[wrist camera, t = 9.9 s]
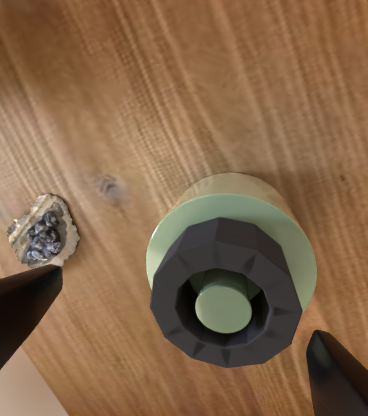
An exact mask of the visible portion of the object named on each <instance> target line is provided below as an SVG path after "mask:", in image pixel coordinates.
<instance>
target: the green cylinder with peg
mask: <svg viewBox="0 0 368 416" xmlns="http://www.w3.org/2000/svg"><path fill="white" fill-rule="evenodd" d="M217 217H223V218H228V219H233V220H238V221H243V222H248V223H253V224H255V225H257V226H258V227H259V228H260V229H261V230H263V231H264V232H265V233H266V234H267V235H269V236H270V237H271V238H272V239H273V240H275V241H276V242H277V243H278V244H280V245H281V247H282V250H283V253H284V256H285V259H286V262H287V265H288V268H289V271H290V274H291V277H292V280H293V283H294V286H295V289H296V292H297V295H298V298H299V301H300V304H301V307H302V310H303V312H304V311H305V309H306V308H307V306H308V305H309V303H310V301H311V298H312V296H313V294H314V290H315V286H316V280H317V263H316V259H315V254H314V251H313V248H312V246H311V243H310V241H309V240H308V238H307V236H306V234H305V233H304V231H303V229H302V228H301V226H300V224H299V223H298V221H297V219H296V217H295V216H294V214H293V212H292V211H291V209H290V207H289V206H288V204H287V202H286V201H285V199H284V198H283V197H282V196H281V194H280V193H279V192H278V191H277V190H276V189H275V188H273V187H272V186H270V185H269V184H268V183H266V182H264V181H262V180H261V179H258V178H256V177H253V176H250V175H246V174H241V173H220V174H215V175H211V176H208V177H206V178H203V179H201V180H199V181H198V182H196V183H194V184H193V185H192V186H190V187H189V188H188V189H187V190H186V191H185V192H184V193H183V194H182V195H181V196H180V198H179V199H178V200H177V201H176V203H175V204H174V205H173V207H172V208H171V209H170V210H169V212H168V213H167V214H166V215H165V217H164V218H163V219H162V221H161V222H160V223H159V225H158V226H157V227H156V229H155V231H154V233H153V235H152V237H151V239H150V242H149V245H148V249H147V255H146V269H147V276H148V280H149V284H150V286H151V289H152V284H153V276H154V274H155V272H156V270H157V268H158V267H159V265H160V263H161V261H162V259H163V258H164V256H165V254H166V252H167V251H168V249H169V247H170V246H171V245H172V244H173V243H174V242H175V240H176V239H177V238H178V237H179V236H180V235H181V234H182V233H183V231H184V230H185V229H186V228H187V227H188V226H191V225H194V224H198V223H201V222H204V221H207V220H211V219H214V218H217ZM189 281H190V283H191V285H192V288H193V290H194V291H195V292H196V293H197V294H198V296H197V299H196V303H195V310H196V314H197V316H198V318H199V320H200V321H201V322H202V323H203V324H204V325H205V326H206V327H208V328H209V329H211V330H213V331H216V332H220V333H233V332H237V331H239V330H241V329H243V328H244V327H245V326H246V325H247V324H248V323H249V321H250V319H251V315H252V306H251V301H250V300H251V299H252V298H253V297H254V296H255V295H257V294H258V293H259V292H260V290H261V287H259V286H258V285H257V284H256V283H254V282H253V281H252V280H251V279H250V278H248V277H247V276H246V275H245V274H243V273H239V272H235V271H230V270H226V269H221V268H214V269H210V270H206V271H202V272H198V273H194V274H193V275H192V276H191V277H190V278H189ZM303 312H302V313H303Z"/></svg>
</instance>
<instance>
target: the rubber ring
mask: <svg viewBox="0 0 368 416" xmlns="http://www.w3.org/2000/svg"><path fill="white" fill-rule="evenodd" d="M214 268H221V269H226V270H230V271H235V272H239V273H243V274H245V275H246V276H247V277H248V278H250V279H251V280H252V281H253V282H254V283H256V284H257V285H258V286H259V287H261V290H260V292H259V293H258V294H257V295H255V296H254V297H253V298H252V299H251V300H250V301H251V306H252V315H251V319H250V321H249V323H248V324H247V325H246V326H245V327H244V328H243V329H241V330H239V331H237V332H233V333H220V332H216V331H213V330H211V329H209V328H208V327H206V326H205V325H204V324H203V323H202V322H201V321H200V320H199V318H198V316H197V314H196V310H195V303H196V299H197V296H198V294H197V293H196V292H195V291H194V290H193V288H192V285H191V283H190V281H189V278H190V277H191V276H192V275H193V274H194V273H198V272H202V271H206V270H210V269H214ZM150 308H151V310H152V312H153V314H154V316H155V319H156V321H157V323H158V325H159V327H160V329H161V331H162V333H163V335H164V337H165V338H167V339H168V340H169V341H170V342H172V343H173V344H174V345H175V346H177V347H178V348H179V349H181V350H182V351H183V352H184V353H186V354H187V355H188V356H190V357H191V358H193V359H196V360H200V361H203V362H207V363H211V364H214V365H218V366H221V367H225V368H231V367H239V366H247V365H254V364H263V363H265V362H266V361H268V360H269V359H271V358H272V357H273V356H275V355H276V354H278V353H279V352H281V351H282V350H283V349H285V348H286V347H288V346H289V345H291V344H292V340H293V337H294V334H295V331H296V329H297V326H298V323H299V320H300V317H301V315H302V312H303V310H302V307H301V304H300V301H299V298H298V295H297V292H296V289H295V286H294V283H293V280H292V277H291V274H290V271H289V268H288V265H287V262H286V259H285V256H284V253H283V250H282V247H281V245H280V244H278V243H277V242H276V241H275V240H273V239H272V238H271V237H270V236H269V235H267V234H266V233H265V232H264V231H263V230H261V229H260V228H259V227H258V226H257V225H255V224H253V223H248V222H243V221H238V220H233V219H228V218H223V217H217V218H214V219H211V220H207V221H204V222H201V223H198V224H194V225H191V226H188V227H187V228H186V229H185V230H184V231H183V233H182V234H181V235H180V236H179V237H178V238H177V239H176V240H175V242H174V243H173V244H172V245H171V246H170V247H169V249H168V251H167V252H166V254H165V256H164V258H163V259H162V261H161V263H160V265H159V267H158V268H157V270H156V272H155V274H154V276H153V284H152V293H151V302H150Z"/></svg>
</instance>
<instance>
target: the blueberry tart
mask: <svg viewBox="0 0 368 416" xmlns="http://www.w3.org/2000/svg"><path fill="white" fill-rule="evenodd" d="M37 198H38V202H37V201H36V200H35V202H36V203H34V204H32V205H31V206H30V207H31V212H30V213H29V214H28V216H26V215H25V214H24V212H23V211H22V213H23V214H22V215H23V216H24V217H23V218H22V217H21V218H22V219H20V220H19V221H18V219H13V220H14V221H15V222H16V223H15V224H13V226H12V227H8V231H7V232H8V235H7V236H8V240H9V242H10V244H11V245H12V247H13V248H15V250H16V251H15V253H18V255H17V257H18V260H19V261H20V262H21V263H22V264H23V263H28V266H29V267H31V268H34V267H35V268H36V267H41V266H45V265H48V264H54V265H58V266H61V265H63V261H64V260H65V259H67V260H68V258H69V255H72V254H73V253H74V251H75V246H76V245H77V241H79V240H80V238H79V236H78V234H77V232H76V231H77V228H76V226H75V225H72V224H71V223H72V222H71V220H72V219H71V218H70V214H69V212H68V207H67V206H66V204H65V203H63V199H61V198H59V197H58V196H55V195H54V196H52V195H51V194H46V195H40V196H37ZM10 236H11V237H10Z"/></svg>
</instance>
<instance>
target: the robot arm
mask: <svg viewBox="0 0 368 416" xmlns="http://www.w3.org/2000/svg"><path fill="white" fill-rule="evenodd" d="M62 285H63V279H62V267H61V266H58V265H54V264H48V265H45V266H41V267H38V268H35V269H32V270H28V271H25V272H22V273H18V274H15V275H12V276H9V277H5V278H2V279H0V370H1V368H2V367H3V366H4V365H5V363H6V362H7V361H8V360H9V359H10V358H11V356H12V355H13V354H14V353H15V351H16V350H17V349H18V348H19V347H20V346H21V344H22V343H23V342H24V341H25V340H26V338H27V337H28V336H29V335H30V334H31V332H32V331H33V330H34V329H35V327H36V326H37V325H38V323H39V322H40V320H41V319H42V318H43V316H44V315H45V313H46V312H47V310H48V309H49V307H50V306H51V304H52V303H53V302H54V300H55V299H56V297H57V296H58V294H59V293H60V291H61V289H62ZM306 357H307V365H308V373H309V381H310V388H311V396H312V403H313V409H314V414H315V416H368V370H367V369H366V368H365V367H364V366H363V365H362V364H361V363H360V362H359V361H358V360H357V359H356V358H355V357H354V356H353V355H352V354H351V353H350V352H349V351H348V350H347V349H345V348H344V347H343V346H342V345H341V344H340V343H339V342H338V341H337V340H336V339H335V338H334V337H333V336H332V335H331V334H330V333H329V332H325V331H321V330H315V331H314V332H313V334H312V337H311V339H310V342H309V344H308V347H307V351H306Z"/></svg>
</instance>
